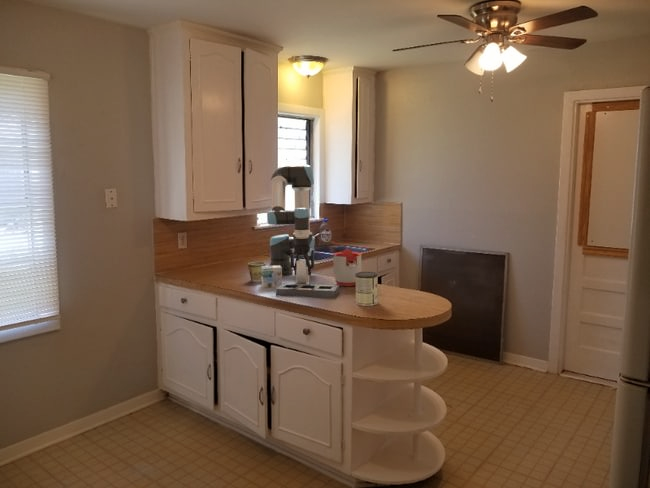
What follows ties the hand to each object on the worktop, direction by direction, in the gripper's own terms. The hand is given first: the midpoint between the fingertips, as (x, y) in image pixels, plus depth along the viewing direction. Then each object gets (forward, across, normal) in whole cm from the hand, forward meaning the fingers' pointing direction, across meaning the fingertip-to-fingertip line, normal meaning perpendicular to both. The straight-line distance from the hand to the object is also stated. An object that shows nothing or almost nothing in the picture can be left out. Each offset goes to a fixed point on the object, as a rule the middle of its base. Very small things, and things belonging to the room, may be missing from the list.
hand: (302, 281), depth 290 cm
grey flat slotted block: (+4, +6, -12) cm, 14 cm away
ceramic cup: (+4, -31, +16) cm, 35 cm away
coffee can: (+4, +38, -26) cm, 46 cm away
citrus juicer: (+4, +22, +12) cm, 25 cm away
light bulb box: (+4, -18, +2) cm, 19 cm away
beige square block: (+4, 0, 0) cm, 4 cm away
